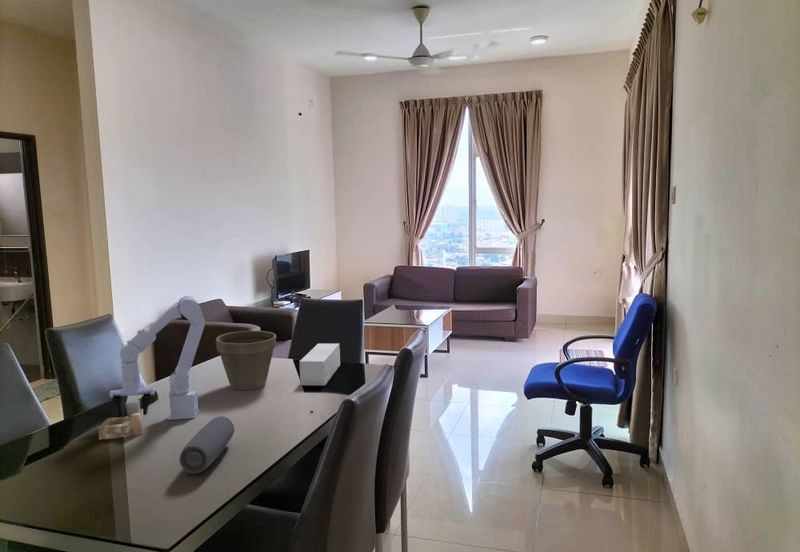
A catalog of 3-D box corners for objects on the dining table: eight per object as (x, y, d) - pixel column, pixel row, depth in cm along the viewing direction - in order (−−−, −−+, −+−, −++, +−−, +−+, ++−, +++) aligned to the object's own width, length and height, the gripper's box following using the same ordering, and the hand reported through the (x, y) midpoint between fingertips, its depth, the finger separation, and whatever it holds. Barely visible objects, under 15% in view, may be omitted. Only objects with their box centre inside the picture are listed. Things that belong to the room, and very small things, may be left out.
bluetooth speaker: (208, 444, 180) (206, 414, 178) (236, 444, 179) (235, 414, 178) (178, 478, 157) (175, 444, 156) (210, 477, 157) (208, 443, 156)
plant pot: (290, 381, 244) (288, 333, 242) (247, 398, 223) (244, 345, 221) (250, 374, 257) (247, 328, 255) (206, 389, 237) (203, 339, 234)
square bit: (141, 421, 201) (139, 399, 201) (138, 424, 198) (136, 402, 197) (131, 421, 201) (129, 400, 200) (128, 425, 198) (126, 403, 197)
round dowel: (143, 432, 191) (141, 412, 190) (140, 435, 188) (139, 415, 187) (134, 432, 191) (132, 413, 190) (131, 436, 188) (129, 416, 187)
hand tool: (125, 417, 206) (124, 405, 206) (117, 416, 208) (116, 404, 207) (163, 401, 224) (162, 389, 223) (155, 400, 225) (154, 388, 225)
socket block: (135, 427, 196) (135, 416, 195) (127, 437, 187) (126, 425, 187) (108, 429, 194) (107, 418, 194) (99, 439, 186) (98, 427, 185)
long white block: (318, 365, 271) (317, 343, 269) (340, 365, 270) (339, 343, 268) (300, 385, 239) (299, 361, 238) (324, 386, 238) (323, 361, 237)
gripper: (155, 373, 203) (158, 409, 204) (113, 376, 200) (116, 412, 202) (150, 379, 196) (153, 416, 197) (106, 381, 193) (109, 419, 195)
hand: (134, 415), depth 199 cm, fingers open, 7 cm apart
